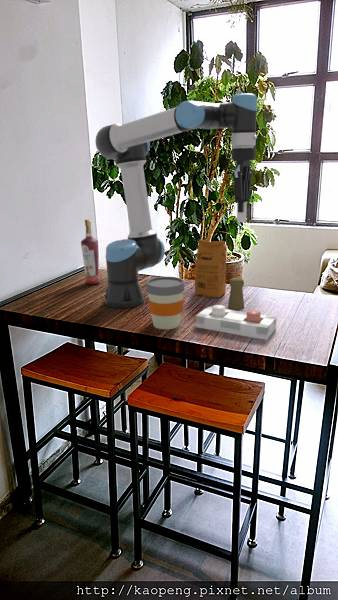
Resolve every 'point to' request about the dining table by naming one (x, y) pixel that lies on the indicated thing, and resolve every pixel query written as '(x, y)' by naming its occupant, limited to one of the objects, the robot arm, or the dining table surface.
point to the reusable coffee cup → (165, 301)
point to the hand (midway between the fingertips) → (241, 221)
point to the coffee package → (210, 269)
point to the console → (236, 323)
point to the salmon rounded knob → (253, 316)
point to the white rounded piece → (218, 311)
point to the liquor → (90, 256)
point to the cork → (236, 294)
